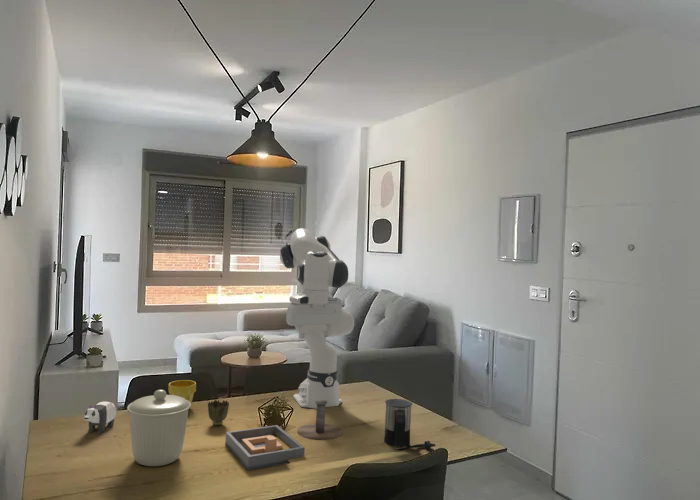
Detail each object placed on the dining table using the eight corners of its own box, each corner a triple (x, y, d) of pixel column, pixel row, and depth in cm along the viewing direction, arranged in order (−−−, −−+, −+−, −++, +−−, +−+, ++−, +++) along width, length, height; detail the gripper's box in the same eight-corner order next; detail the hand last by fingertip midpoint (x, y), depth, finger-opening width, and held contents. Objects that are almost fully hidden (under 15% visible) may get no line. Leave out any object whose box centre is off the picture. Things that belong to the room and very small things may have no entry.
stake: (289, 431, 192) (290, 397, 192) (329, 425, 200) (330, 393, 200) (308, 447, 178) (310, 410, 178) (351, 440, 186) (352, 405, 186)
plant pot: (161, 410, 209) (162, 384, 209) (177, 402, 219) (178, 378, 219) (185, 413, 206) (186, 388, 206) (200, 406, 216) (201, 381, 216)
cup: (230, 422, 199) (231, 400, 199) (224, 429, 191) (225, 406, 191) (211, 420, 199) (212, 399, 199) (203, 427, 192) (204, 404, 192)
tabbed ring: (241, 443, 176) (242, 426, 176) (270, 439, 181) (271, 423, 181) (256, 459, 164) (257, 441, 164) (287, 454, 169) (288, 437, 169)
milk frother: (378, 441, 186) (381, 398, 186) (420, 438, 191) (422, 396, 191) (395, 458, 173) (397, 411, 172) (439, 454, 178) (442, 409, 177)
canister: (167, 443, 176) (170, 378, 175) (201, 460, 164) (203, 390, 164) (113, 459, 162) (116, 389, 161) (145, 478, 150) (148, 402, 150)
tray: (225, 444, 177) (225, 432, 177) (276, 436, 186) (277, 425, 186) (248, 470, 158) (248, 456, 158) (304, 460, 167) (304, 447, 167)
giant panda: (101, 422, 192) (103, 396, 192) (116, 424, 191) (118, 397, 191) (77, 437, 177) (78, 408, 177) (93, 439, 177) (94, 409, 177)
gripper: (337, 296, 197) (335, 334, 197) (285, 297, 186) (283, 337, 186) (346, 298, 191) (344, 337, 191) (292, 299, 181) (291, 340, 181)
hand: (313, 337), depth 189 cm, fingers open, 8 cm apart
